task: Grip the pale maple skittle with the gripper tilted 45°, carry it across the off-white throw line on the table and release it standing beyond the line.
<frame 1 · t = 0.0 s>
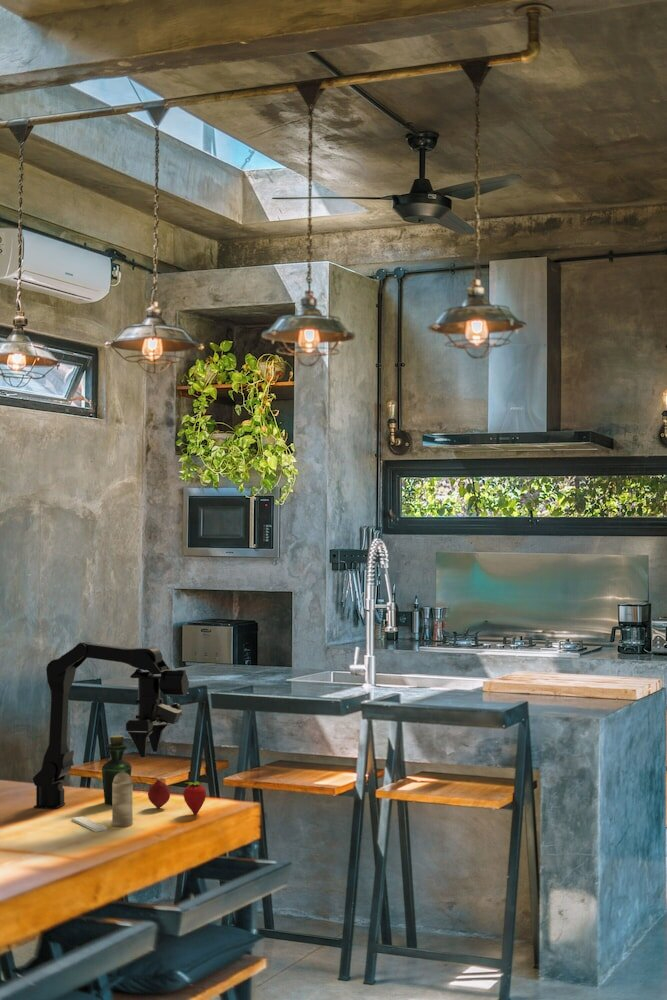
hand: (149, 754, 322), 15 cm above the table, tool pointing down, fingers open, 9 cm apart
skittle: (122, 824, 304), on the table
potion bottle: (116, 803, 332), on the table
onion: (159, 808, 324), on the table
throw line: (88, 825, 304), on the table
strawberry: (194, 815, 315), on the table
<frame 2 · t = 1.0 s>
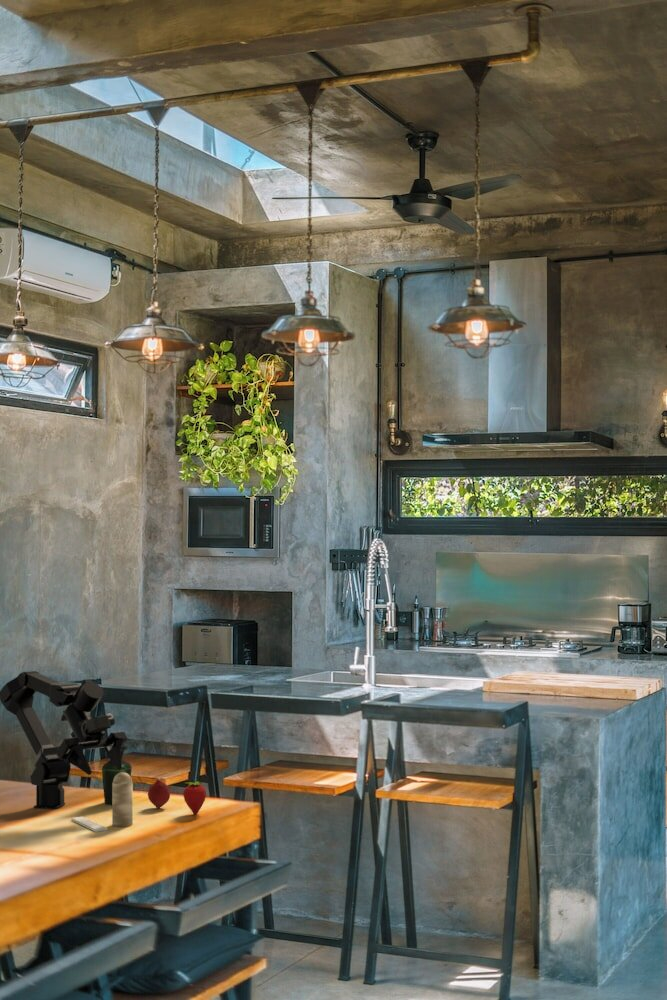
hand: (105, 771, 310), 12 cm above the table, tool tilted 45°, fingers open, 9 cm apart
nothing on the table moved.
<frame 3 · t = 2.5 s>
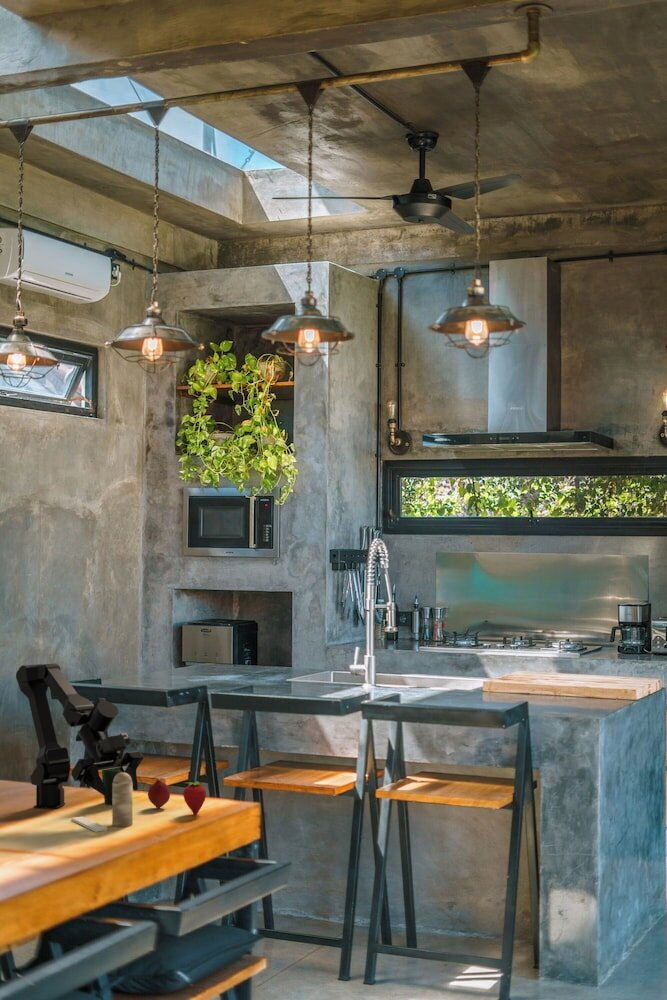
hand: (121, 792, 304), 8 cm above the table, tool tilted 45°, fingers open, 9 cm apart
nothing on the table moved.
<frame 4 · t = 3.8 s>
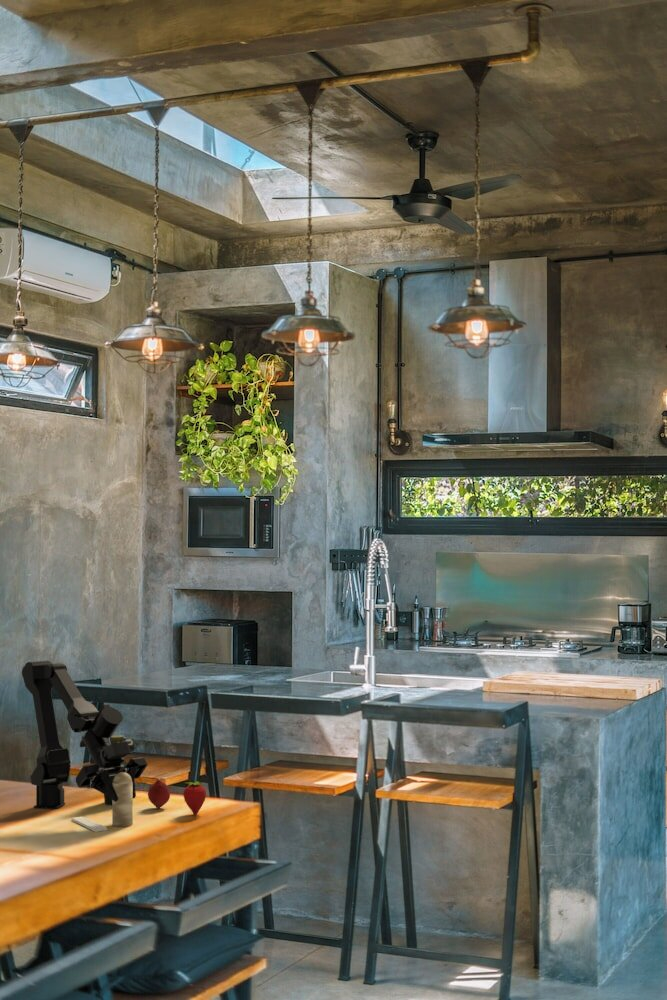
hand: (125, 798, 303), 7 cm above the table, tool tilted 45°, fingers closed on skittle, 5 cm apart
skittle: (122, 824, 304), on the table, touching gripper
everything else where it was.
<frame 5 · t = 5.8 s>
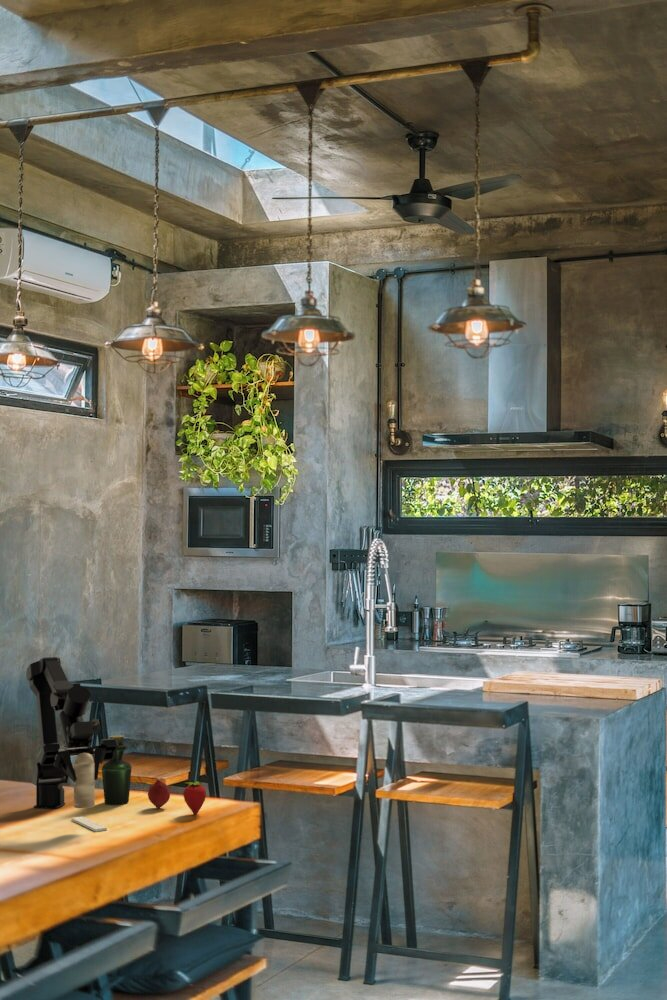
hand: (85, 779, 297), 13 cm above the table, tool tilted 45°, fingers closed on skittle, 5 cm apart
skittle: (84, 806, 298), point 6 cm above the table, touching gripper
everything else where it was.
when the fingers open (8 cm above the table, at t = 7.9 s): skittle drops 1 cm, on the table.
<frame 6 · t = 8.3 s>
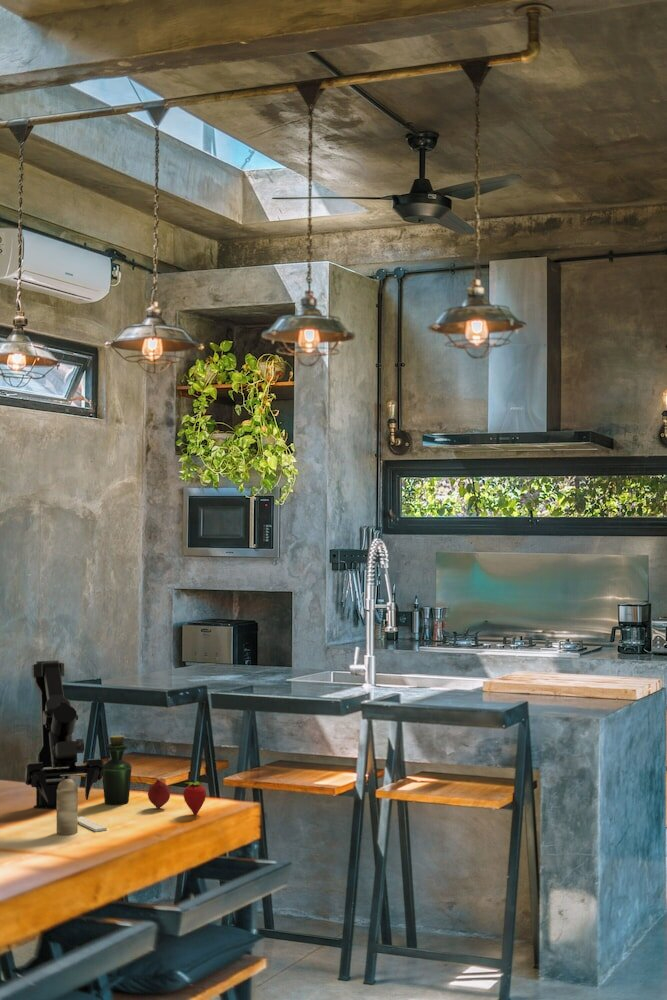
hand: (68, 800, 294), 8 cm above the table, tool tilted 45°, fingers open, 9 cm apart
skittle: (67, 832, 295), on the table
everything else where it was.
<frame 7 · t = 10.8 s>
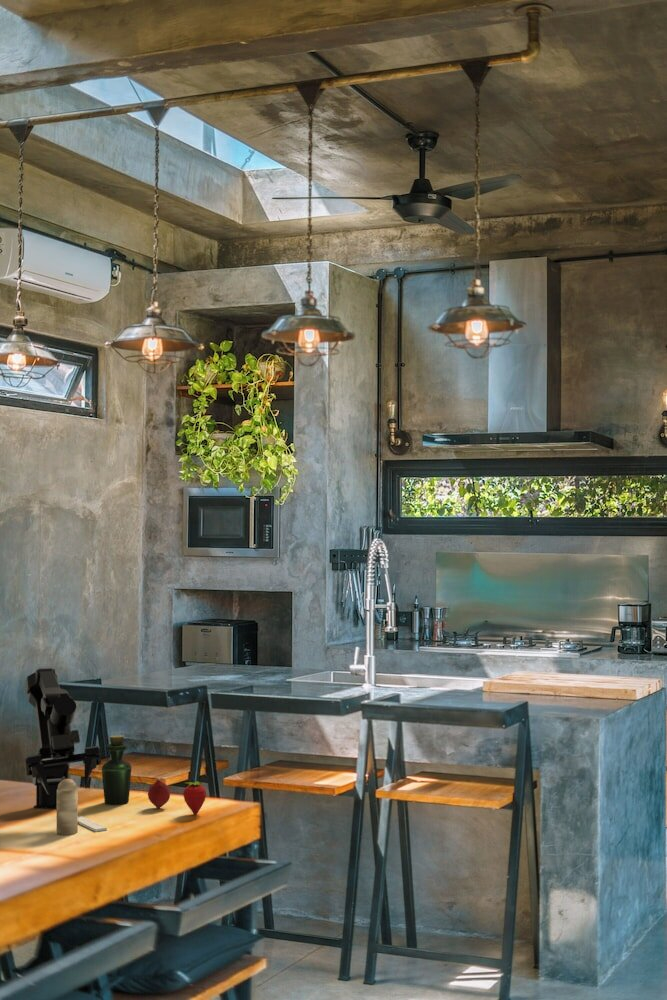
hand: (67, 790, 304), 9 cm above the table, tool tilted 40°, fingers open, 9 cm apart
nothing on the table moved.
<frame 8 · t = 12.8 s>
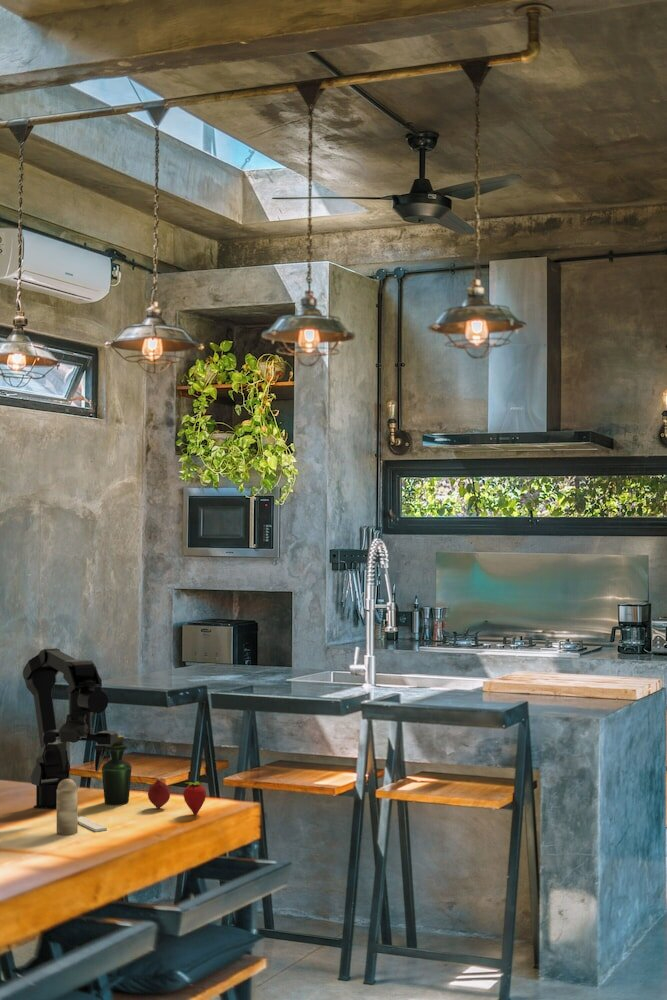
hand: (80, 770, 313), 12 cm above the table, tool pointing down, fingers open, 9 cm apart
nothing on the table moved.
at the end: skittle inside the target area (0.8 cm from its centre), on the table; skittle tilted 0°; the gripper is holding nothing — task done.
